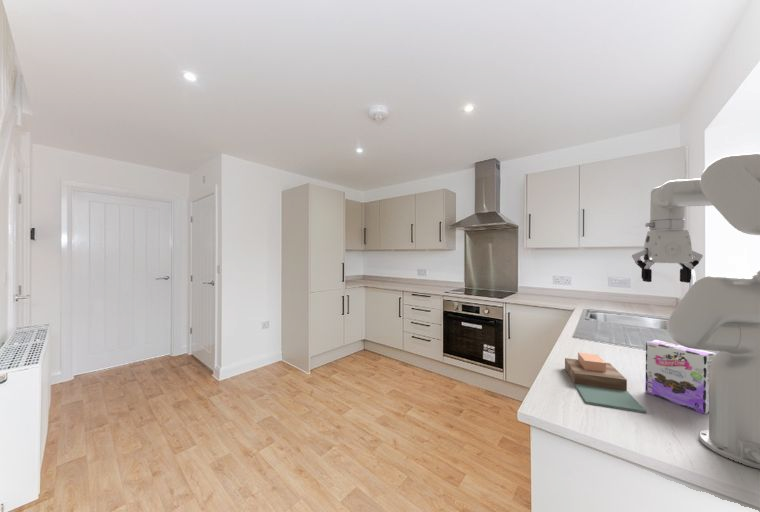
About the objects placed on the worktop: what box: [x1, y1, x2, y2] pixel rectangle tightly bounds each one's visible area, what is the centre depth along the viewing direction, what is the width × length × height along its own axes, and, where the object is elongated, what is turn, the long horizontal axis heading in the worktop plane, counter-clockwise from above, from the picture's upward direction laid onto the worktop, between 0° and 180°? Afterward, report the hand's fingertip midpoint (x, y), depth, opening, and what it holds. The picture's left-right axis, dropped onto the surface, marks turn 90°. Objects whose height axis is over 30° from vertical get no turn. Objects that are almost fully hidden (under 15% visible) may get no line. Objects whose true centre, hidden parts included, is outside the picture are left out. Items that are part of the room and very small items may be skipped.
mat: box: [574, 384, 647, 414], centre depth 88 cm, size 12×14×1 cm
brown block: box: [564, 357, 628, 391], centre depth 101 cm, size 15×14×4 cm
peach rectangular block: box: [577, 352, 607, 372], centre depth 103 cm, size 9×6×3 cm, turn 158°
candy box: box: [645, 339, 717, 415], centre depth 86 cm, size 14×6×16 cm, turn 21°
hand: (665, 281), depth 89 cm, fingers open, 9 cm apart
